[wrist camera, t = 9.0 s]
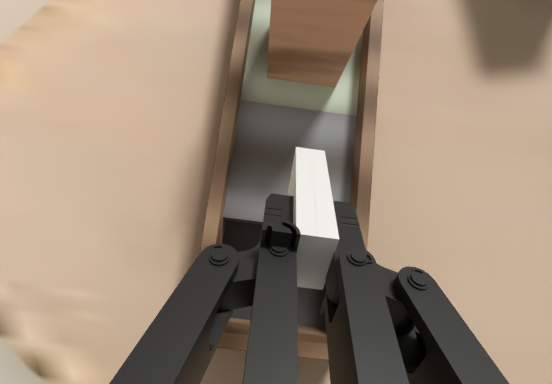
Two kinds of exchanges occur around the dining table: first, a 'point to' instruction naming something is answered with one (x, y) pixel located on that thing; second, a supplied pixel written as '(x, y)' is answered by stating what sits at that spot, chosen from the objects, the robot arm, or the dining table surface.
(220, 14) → the dining table surface
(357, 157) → the box
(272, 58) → the block
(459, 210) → the dining table surface
